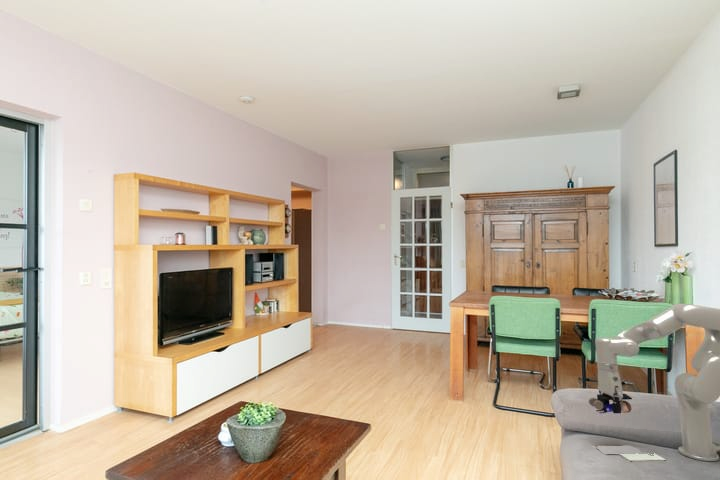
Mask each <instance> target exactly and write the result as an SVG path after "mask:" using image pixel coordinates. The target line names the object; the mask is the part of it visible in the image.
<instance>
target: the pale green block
mask: <svg viewBox="0 0 720 480" xmlns="http://www.w3.org/2000/svg"><path fill="white" fill-rule="evenodd" d="M645 453H646V452H645ZM647 453H648V452H647ZM647 453H646V454H638V453H636V454H620V455H622V456H623V457H625V458H626V459H628V460H629V461H643V462H646V461H645V460H666V459H665V458H664V457H663V456H660V455H658V454H657V453H655V452H653V453H654V454H653V455H654V456H650V455H648V454H649V453H650V452H649V453H648V454H647ZM620 455H619V456H620ZM651 455H652V454H651ZM622 456H621V457H622ZM623 457H622V458H623ZM625 458H624V459H625ZM626 459H625V460H626ZM628 460H627V461H628ZM629 461H628V462H629Z"/></svg>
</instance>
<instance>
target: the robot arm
mask: <svg viewBox="0 0 720 480" xmlns="http://www.w3.org/2000/svg"><path fill="white" fill-rule="evenodd" d="M686 326H692V327H698V328H701V329H704V332H705V333H704V339H703V340H702V342H701V344H700V345H699V347H698V348H697V350H696V352H695V353H694V354H693V357H691V361H690V366H691V367H692V369H693V370H694V371H696V372H697V374H695V373H690V372H683V373H680V374H678V375H677V376H676V377H675V380H674V391H675V394H676V397H677V402H678V411H679V422H680V424H679V425H680V432H681V442H682V443H681V444H682V446H679V447H678V450H677V451H678V453H680V455H682V456H684V457H687V458H690V459H694V460H697V461H703V462H704V461H705V462H715V461H719V460H720V455H719V454H718V452H720V445H717V444H715V443H713V436H712V435H713V434H712V425H711V418H710V416H711V415H710V408H709V405H710V404H713V403H715V402H716V401H717V400H718V399H719V398H720V308H716V307H709V306H703V305H702V306H701V305H697V304H693V303H692V304H690V303H677V304H674V305H672V306H670V307H669V308H667V309H665V310H663V311H661V312H660V313H658V314H657V315H655V316H654V317H651V318H650V319H648V320H646V321H642V322H640V323H639V324H636V325H634V326H631V327H630V328H627V329H625V330H624V331H622V332H620V333H619V334H616V336H614V337H613V338H612V337H597V338H595V342H594V343H595V353H596V364H597V365H596V366H597V367H596V368H597V385H596V387H597V390H598V394H607V395H609V396H611V398H612V400H611V401H612V403H611V404H612V408H613V412H612V413H613V414H622V412H621V401H623V400H622V398H623V394H624V393H623V391H624V390H623V386H622V380H621V376H620V373H619V365H618V357H617V356H621V357H627V358H630V357H631V358H632V357H636V356H637V355H638V354H639V352H640V347H639V344H642V343H645V342H649V341H652V340H661V339H663V338H666V337H668V336H670V335H671V334H673V333H675V332H676V331H678V330H679V329H682V328H683V327H686ZM614 394H616V395H614ZM614 397H617V398H616V399H615V398H614ZM605 404H610V400H605Z"/></svg>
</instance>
